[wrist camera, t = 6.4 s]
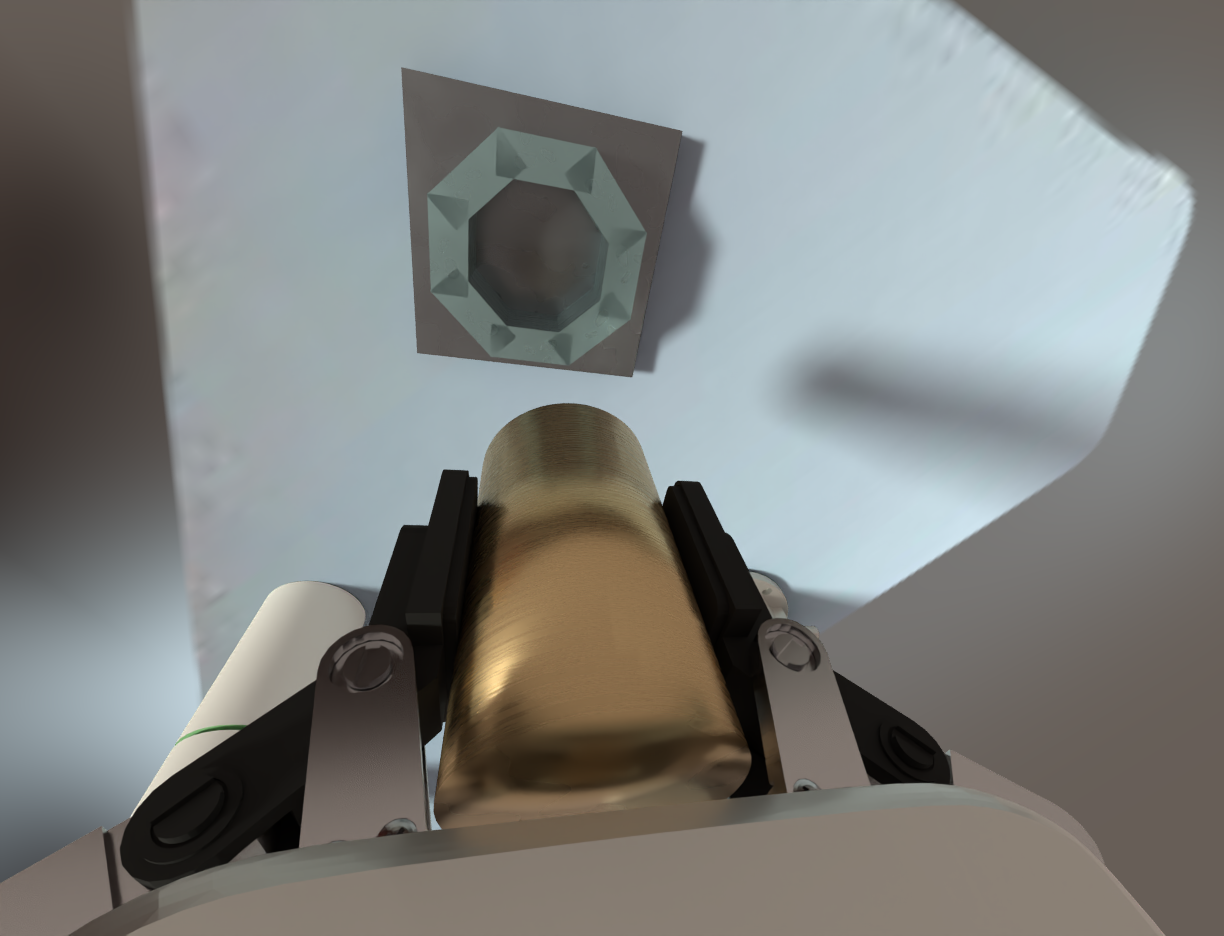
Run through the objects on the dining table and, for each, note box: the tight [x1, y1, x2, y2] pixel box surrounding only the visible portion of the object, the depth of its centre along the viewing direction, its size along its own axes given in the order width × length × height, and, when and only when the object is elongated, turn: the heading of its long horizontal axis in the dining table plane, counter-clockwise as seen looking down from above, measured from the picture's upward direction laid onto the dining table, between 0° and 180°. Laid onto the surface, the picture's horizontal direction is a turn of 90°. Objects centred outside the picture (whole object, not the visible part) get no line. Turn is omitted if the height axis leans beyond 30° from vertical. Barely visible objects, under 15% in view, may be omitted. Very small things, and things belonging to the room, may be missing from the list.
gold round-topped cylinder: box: [434, 403, 751, 829], centre depth 10 cm, size 5×5×8 cm
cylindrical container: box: [131, 581, 365, 817], centre depth 26 cm, size 7×7×25 cm
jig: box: [401, 67, 682, 377], centre depth 23 cm, size 12×12×4 cm
